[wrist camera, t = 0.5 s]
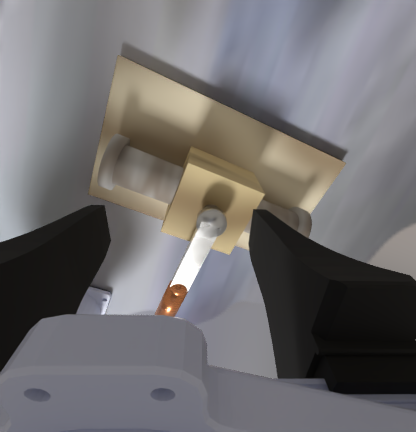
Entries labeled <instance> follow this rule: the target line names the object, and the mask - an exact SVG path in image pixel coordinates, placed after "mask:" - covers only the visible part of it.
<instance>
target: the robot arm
mask: <svg viewBox="0 0 416 432" xmlns="http://www.w3.org/2000/svg"><path fill="white" fill-rule="evenodd" d="M110 242H111V239H110V233H109V228H108V222H107V217H106V211H105V206H104V205H90V206H87V207H85V208H82V209H80V210H78V211H76V212H74V213H71V214H69V215H67V216H65V217H63V218H61V219H59V220H57V221H55V222H52V223H50V224H48V225H45V226H43V227H41V228H39V229H36V230H34V231H31V232H29V233H26V234H24V235H21V236H18V237H15V238H12V239H9V240H6V241H3V242H0V432H416V341H415V339H416V281H415V280H414V279H413V278H412V277H411V276H410V275H406V274H403V273H398V272H395V271H391V270H387V269H383V268H379V267H376V266H373V265H370V264H367V263H364V262H361V261H358V260H355V259H352V258H349V257H347V256H344V255H342V254H340V253H337V252H335V251H332V250H330V249H328V248H326V247H324V246H322V245H320V244H318V243H316V242H314V241H312V240H311V239H309V238H307V237H305V236H304V235H302V234H301V233H299V232H297V231H296V230H294V229H293V228H291V227H290V226H289V225H287V224H286V223H284V222H283V221H282V220H280V219H279V218H277V217H276V216H275V215H273V214H272V213H271V212H269V211H268V210H266V209H253V214H252V221H251V228H250V235H249V242H248V245H249V251H250V257H251V262H252V265H253V268H254V271H255V274H256V277H257V281H258V284H259V287H260V290H261V293H262V296H263V300H264V303H265V307H266V312H267V317H268V322H269V327H270V333H271V338H272V344H273V350H274V356H275V362H276V368H277V375H278V379H272V378H267V377H262V376H258V375H253V374H249V373H244V372H239V371H235V370H230V369H226V368H221V367H217V366H212V365H208V364H207V343H206V341H205V338H204V335H203V332H202V330H200V329H199V328H197V327H196V326H194V325H193V324H191V323H190V322H188V321H187V320H185V319H182V318H177V317H172V316H166V315H105V313H106V310H107V307H108V304H109V301H110V298H111V293H110V292H108V291H104V290H100V289H97V288H93V287H89V286H90V284H91V282H92V281H93V279H94V277H95V275H96V273H97V272H98V270H99V268H100V266H101V264H102V262H103V260H104V258H105V256H106V253H107V251H108V248H109V245H110ZM105 298H106V299H105Z"/></svg>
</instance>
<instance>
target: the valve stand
mask: <svg viewBox="0 0 416 432" xmlns="http://www.w3.org/2000/svg"><path fill="white" fill-rule="evenodd" d="M345 164H346V163H345V162H343V161H342V160H339V159H337V158H335V157H333V156H331V155H329V154H327V153H325V152H323V151H320V150H318V149H316V148H314V147H312V146H310V145H308V144H306V143H304V142H301V141H299V140H297V139H295V138H293V137H291V136H289V135H287V134H285V133H283V132H280V131H278V130H276V129H274V128H272V127H270V126H268V125H266V124H264V123H261V122H259V121H257V120H255V119H253V118H251V117H249V116H247V115H245V114H242V113H240V112H238V111H236V110H234V109H232V108H230V107H228V106H226V105H224V104H221V103H219V102H217V101H215V100H213V99H211V98H209V97H207V96H205V95H202V94H200V93H198V92H196V91H194V90H192V89H190V88H188V87H186V86H183V85H181V84H179V83H177V82H175V81H173V80H171V79H169V78H167V77H165V76H162V75H160V74H158V73H156V72H154V71H152V70H150V69H148V68H146V67H143V66H141V65H139V64H137V63H135V62H133V61H131V60H129V59H127V58H124V57H122V56H120V55H118V56H117V61H116V66H115V70H114V75H113V80H112V84H111V89H110V94H109V98H108V103H107V108H106V112H105V117H104V122H103V126H102V131H101V136H100V140H99V145H98V150H97V154H96V159H95V164H94V168H93V173H92V178H91V182H90V187H89V192H88V194H89V195H92V196H95V197H98V198H100V199H103V200H106V201H109V202H112V203H115V204H118V205H120V206H123V207H126V208H129V209H132V210H135V211H138V212H141V213H143V214H146V215H149V216H152V217H155V218H158V219H161V220H163V221H164V222H163V225H162V229H161V232H164V233H167V234H170V235H173V236H176V237H179V238H181V239H184V240H187V241H190V240H191V238H192V236H193V234H194V231H195V229H196V227H197V226H196V222H197V215H198V213H199V212H200V211H201V210H202V209H203V208H205V207H209V206H214V207H218V208H220V209H221V210H222V211H223V212H224V213H225V215H226V220H227V227H226V230H225V231H224V233H223V234H221V235H220V236H217V238H216V239H215V241H214V243H213V245H212V247H211V249H214V250H217V251H220V252H223V253H226V254H229V255H230V253H231V251H232V250H233V248H234V246H238V247H241V248H244V249H247V250H249V245H248V242H249V235H250V228H251V221H252V214H253V209H266V210H268V211H269V212H271V213H272V214H273V215H275V216H276V217H277V218H279V219H280V220H282V221H283V222H284V223H286V224H287V225H289V226H290V227H291V228H293V229H294V230H296V231H297V232H299V233H301V234H302V235H304V236H305V237H307V238H308V237H309V235H310V232H311V226H312V220H311V216H310V214H311V212H312V211H313V209H314V208H315V207H316V205H317V204H318V202H319V201H320V200H321V198H322V197H323V195H324V194H325V192H326V191H327V190H328V188H329V187H330V185H331V184H332V183H333V181H334V180H335V178H336V177H337V176H338V174H339V173H340V171H341V170H342V169H343V167H344V166H345Z"/></svg>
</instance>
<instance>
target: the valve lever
mask: <svg viewBox="0 0 416 432" xmlns="http://www.w3.org/2000/svg"><path fill="white" fill-rule="evenodd" d="M196 226H197V227H196V229H195V231H194V234H193V236H192V238H191V240H190V242H189V244H188V246H187V248H186V250H185V252H184V255H183V257H182V259H181V261H180V263H179V265H178V267H177V269H176V271H175V273H174V276H173V278H172V280H171V281H170V283H169V285H168V287H167V289H166V291H165V293H164V295H163V297H162V300H161V302H160V304H159V306H158V308H157V310H156V312H155V315H166V316H172V317H175V315H176V313H177V311H178V309H179V308H180V306H181V304H182V302H183V300H184V298H185V296H186V294H187V293H188V290H189V288H190V286H191V284H192V283H193V281H194V279H195V277H196V275H197V273H198V271H199V269H200V268H201V266H202V264H203V262H204V260H205V258H206V256H207V254H208V253H209V251H210V249H211V247H212V245H213V243H214V241H215V239H216V238H217V236H220V235H221V234H223V233H224V231H225V230H226V227H227V220H226V215H225V213H224V212H223V211H222V210H221V209H220V208H218V207H214V206H209V207H205V208H203V209H202V210H201V211H200V212H199V213H198V215H197V222H196Z"/></svg>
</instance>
